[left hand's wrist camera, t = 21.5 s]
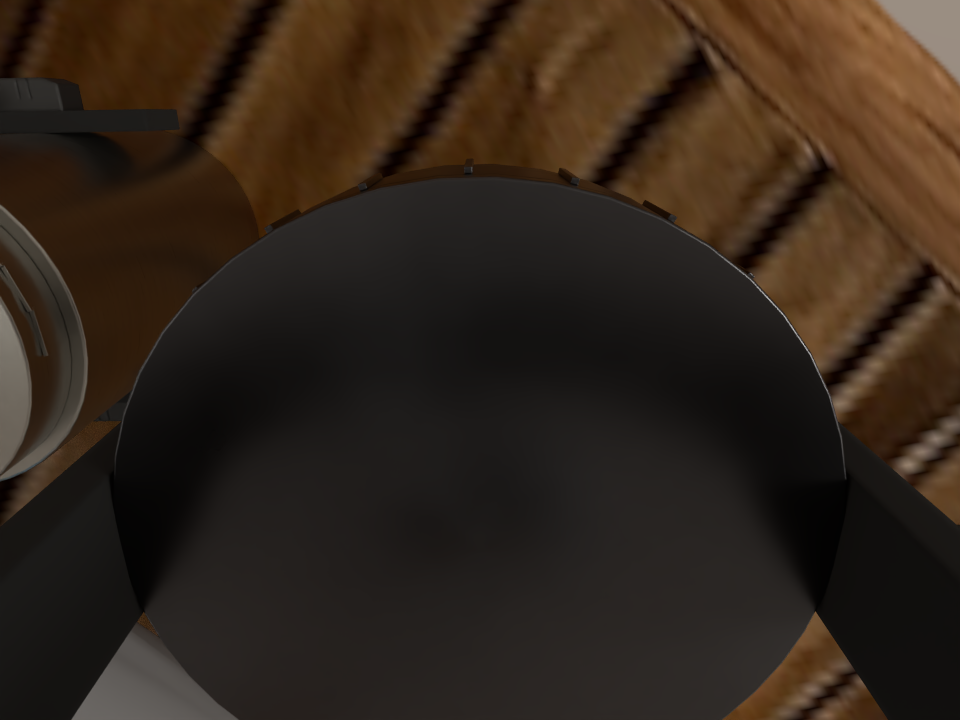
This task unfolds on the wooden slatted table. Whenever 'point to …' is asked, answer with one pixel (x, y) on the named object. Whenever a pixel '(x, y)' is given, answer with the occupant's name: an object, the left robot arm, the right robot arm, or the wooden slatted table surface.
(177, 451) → the lid
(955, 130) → the wooden slatted table surface
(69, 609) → the left robot arm
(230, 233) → the jar
